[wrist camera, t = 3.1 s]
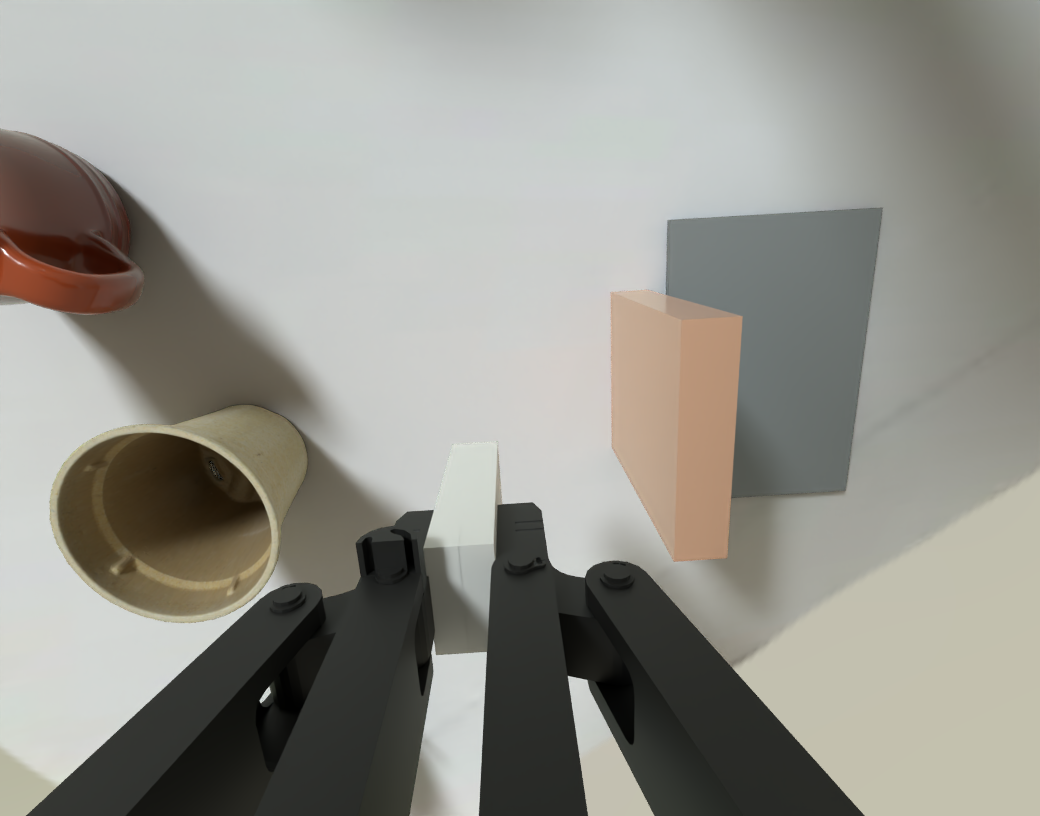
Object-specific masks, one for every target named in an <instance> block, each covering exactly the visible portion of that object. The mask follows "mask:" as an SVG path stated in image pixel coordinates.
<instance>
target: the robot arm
mask: <svg viewBox="0 0 1040 816" xmlns="http://www.w3.org/2000/svg"><path fill="white" fill-rule="evenodd" d="M356 548H357V555H358V561H359V567H360V574H361V578H360V580H359V582H358V585H357V587H356V589H354V590H352V591H349V592H346V593H343V594H339V595H335V596H331V597H328V598H324V599H323V596H322V591H321V589H320V588H319V587H318V586H317V585H314V584H310V583H293V584H290V585H285V586H282V587H280V588H278V589H276V590H274V591H271V592H270V593H268V594H267V595H265V596H264V597H263V598H261V599H260V600H259V601H258V602H257V603H256V604H255V605H253V606H252V607H251V608H250V609H249V610H248V611H247V612H246V613H245V614H244V615H243V616H242V617H240V618H239V619H238V620H237V621H236V622H235V623H234V624H233V625H232V626H231V627H230V628H229V629H227V630H226V631H225V632H224V633H223V634H222V635H221V636H220V637H219V638H218V639H217V640H216V641H215V642H213V643H212V644H211V645H210V646H209V647H208V648H207V649H206V650H205V651H204V652H203V653H202V654H200V655H199V656H198V657H197V658H196V659H195V660H194V661H193V662H192V663H191V664H190V665H189V666H187V667H186V668H185V669H184V670H183V671H182V672H181V673H180V674H179V675H178V676H177V677H176V678H175V679H173V680H172V681H171V682H170V683H169V684H168V685H167V686H166V687H165V688H164V689H163V690H162V691H160V692H159V693H158V694H157V695H156V696H155V697H154V698H153V699H152V700H151V701H150V702H149V703H147V704H146V705H145V706H144V707H143V708H142V709H141V710H140V711H139V712H138V713H137V714H136V715H135V716H133V717H132V718H131V719H130V720H129V721H128V722H127V723H126V724H125V725H124V726H123V727H122V728H120V729H119V730H118V731H117V732H116V733H115V734H114V735H113V736H112V737H111V738H110V739H109V740H107V741H106V742H105V743H104V744H103V745H102V746H101V747H100V748H99V749H98V750H97V751H96V752H94V753H93V754H92V755H91V756H90V757H89V758H88V759H87V760H86V761H85V762H84V763H83V764H82V765H80V766H79V767H78V768H77V769H76V770H75V771H74V772H73V773H72V774H71V775H70V776H69V777H67V778H66V779H65V780H64V781H63V782H62V783H61V784H60V785H59V786H58V787H57V788H56V789H54V790H53V792H51V793H50V794H49V795H48V796H47V797H46V798H45V799H44V800H43V801H42V802H40V803H39V804H38V805H37V806H36V807H35V808H34V809H33V810H32V811H31V812H30V813H29V814H28V815H26V816H409V814H410V808H411V802H412V796H413V790H414V784H415V778H416V772H417V766H418V760H419V754H420V749H421V743H422V737H423V731H424V725H425V719H426V713H427V707H428V701H429V695H430V689H431V683H432V677H433V663H432V655H431V651H432V645H433V640H434V642H435V651H436V655H444V654H459V653H474V652H487V664H486V684H485V704H484V725H483V745H482V766H481V786H480V806H479V816H588V812H587V806H586V799H585V792H584V785H583V778H582V771H581V765H580V758H579V751H578V744H577V737H576V730H575V724H574V717H573V710H572V703H571V696H570V689H569V682H568V676H571V677H576V678H581V679H586V680H588V684H589V688H590V691H591V693H592V695H593V697H594V699H595V701H596V703H597V705H598V707H599V709H600V711H601V713H602V715H603V717H604V719H605V720H606V722H607V724H608V726H609V728H610V730H611V732H612V734H613V736H614V738H615V740H616V742H617V744H618V745H619V748H620V750H621V752H622V753H623V755H624V757H625V759H626V761H627V763H628V765H629V767H630V769H631V771H632V773H633V775H634V777H635V779H636V781H637V783H638V785H639V786H640V788H641V790H642V792H643V794H644V796H645V798H646V800H647V802H648V804H649V805H650V808H651V810H652V812H653V814H654V815H655V816H864V815H863V813H862V812H861V811H860V810H859V809H858V808H857V807H856V806H855V805H854V804H853V802H852V801H851V800H850V799H849V798H848V797H847V796H846V795H845V793H844V792H843V791H842V790H841V789H840V788H839V787H838V786H837V784H836V783H835V782H834V781H833V780H832V779H831V778H830V777H829V776H828V774H827V773H826V772H825V771H824V770H823V769H822V768H821V767H820V766H819V764H818V763H817V762H816V761H815V760H814V759H813V758H812V757H811V756H810V754H809V753H808V752H807V751H806V750H805V749H804V748H803V747H802V745H800V743H799V742H798V741H797V740H796V739H795V738H794V737H793V736H792V734H791V733H790V732H789V731H788V730H787V729H786V728H785V727H784V725H783V724H782V723H781V722H780V721H779V720H778V719H777V718H776V717H775V715H774V714H773V713H772V712H771V711H770V710H769V709H768V708H767V706H766V705H765V704H764V703H763V702H762V701H761V700H760V699H759V697H757V695H756V694H755V693H754V692H753V691H752V690H751V689H750V687H749V686H748V685H747V684H746V683H745V682H744V681H743V680H742V679H741V677H740V676H739V675H738V674H737V673H736V672H735V671H734V670H733V668H732V667H731V666H730V665H729V664H728V663H727V662H726V661H725V660H724V658H723V657H722V656H721V655H720V654H719V653H718V652H717V651H716V650H715V648H714V647H713V646H712V645H711V644H710V643H709V642H708V641H707V640H706V638H705V637H704V636H703V635H702V634H701V633H700V632H699V631H698V629H697V628H696V627H695V626H694V625H693V624H692V623H691V622H690V621H689V619H688V618H687V617H686V616H685V615H684V614H683V613H682V612H681V611H680V609H679V608H678V607H677V606H676V605H675V604H674V603H673V602H672V600H671V599H670V598H669V597H668V596H667V595H666V594H665V593H664V592H663V590H662V589H661V588H660V587H659V586H658V585H657V584H656V583H655V582H654V580H653V579H652V578H651V577H650V576H649V575H648V574H647V573H646V572H645V571H644V570H643V569H641V568H640V567H639V566H636V565H634V564H631V563H628V562H623V561H607V562H602V563H599V564H596V565H594V566H593V567H591V568H590V569H589V570H588V571H587V573H586V576H585V578H581V577H575V576H570V575H567V574H564V573H562V572H559V571H558V570H556V569H555V568H554V567H553V566H552V565H551V563H550V561H549V559H548V553H547V546H546V539H545V532H544V525H543V518H542V512H541V510H540V509H539V508H538V507H537V506H536V505H535V504H534V503H533V502H532V503H517V504H502V496H501V482H500V468H499V454H498V441H496V442H480V443H464V444H452V448H451V451H450V455H449V459H448V462H447V466H446V469H445V473H444V476H443V480H442V484H441V487H440V491H439V494H438V498H437V501H436V505H435V508H434V510H428V511H412V512H407V513H406V514H404V515H403V516H402V517H401V518H400V519H398V520H397V521H396V524H395V526H391V527H385V528H380V529H377V530H374V531H371V532H369V533H367V534H365V535H364V536H362V537H361V538H360V539H359V540H358V541H357V542H356ZM269 686H270V690H271V693H270V695H269V696H268V697H267V698H266V700H265V701H263V702H262V703H260V701H259V700H260V699H261V697H262V695H263V694H264V692H265V691H266V689H267V688H268V687H269Z"/></svg>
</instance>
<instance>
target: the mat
mask: <svg viewBox="0 0 1040 816" xmlns="http://www.w3.org/2000/svg"><path fill="white" fill-rule="evenodd" d="M881 216H882V208H869V209H852V210H834V211H817V212H800V213H783V214H765V215H748V216H731V217H713V218H696V219H679V220H668V228H667V272H666V295H668V296H672V297H675V298H679V299H682V300H686V301H690V302H693V303H697V304H700V305H704V306H708V307H711V308H715V309H718V310H722V311H726V312H729V313H733V314H736V315H740V316H743V319H742V334H741V350H740V365H739V381H738V397H737V412H736V428H735V444H734V459H733V475H732V491H731V498H736V497H751V496H767V495H783V494H798V493H814V492H830V491H845V490H846V482H847V475H848V467H849V460H850V452H851V444H852V437H853V429H854V421H855V414H856V406H857V399H858V391H859V383H860V376H861V368H862V361H863V353H864V345H865V338H866V330H867V322H868V315H869V307H870V300H871V292H872V284H873V277H874V269H875V262H876V254H877V246H878V239H879V231H880V224H881Z"/></svg>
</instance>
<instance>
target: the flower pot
mask: <svg viewBox="0 0 1040 816" xmlns="http://www.w3.org/2000/svg"><path fill="white" fill-rule="evenodd" d="M210 461H212V462H213V464H214V465H215V467H216V469H217V470H218V472H219V474H220V475H221V476H222V478H223V479H222V480H220V479H219V478H217V477H216V476H215V475H214V474H213V472H212V471H211V469H210V466H209V462H210ZM307 465H308V457H307V452H306V448H305V444H304V442H303V439H302V438H301V436H300V434H299V433H298V431H297V430H296V429H295V427H294V426H293V425H292V424H291V423H290V422H289V421H288V420H287V419H285V418H284V417H283V416H280V415H278V414H276V413H273V412H271V411H268V410H266V409H264V408H261V407H258V406H254V405H235V406H230V407H227V408H224V409H222V410H219V411H216V412H213V413H210V414H207V415H204V416H201V417H197V418H194V419H191V420H188V421H184V422H181V423H178V424H174V425H161V424H139V425H131V426H125V427H121V428H117V429H113V430H110V431H108V432H105V433H102V434H100V435H98V436H96V437H94V438H92V439H90V440H89V441H87V442H85V443H84V444H82V445H81V446H80V447H79V448H77V449H76V450H75V451H74V452H73V453H72V454H71V455H70V456H69V458H68V459H67V460H66V461H65V462H64V464H63V465H62V467H61V469H60V471H59V472H58V474H57V476H56V479H55V481H54V483H53V486H52V490H51V496H50V521H51V525H52V530H53V533H54V538H55V539H56V543H57V545H58V546H59V549H60V550H61V552H62V553H63V555H64V557H65V559H66V561H67V562H68V564H69V565H70V566H71V567H72V568H73V570H74V571H75V572H76V573H77V574H78V575H79V577H80V578H81V579H82V580H83V581H84V582H85V583H86V584H87V585H88V586H89V587H91V588H92V589H93V590H94V591H95V592H97V593H98V594H99V595H101V596H102V597H104V598H105V599H107V600H108V601H110V602H112V603H113V604H115V605H117V606H119V607H121V608H123V609H125V610H128V611H130V612H132V613H135V614H138V615H140V616H144V617H147V618H152V619H155V620H160V621H164V622H176V623H193V622H194V623H196V622H201V621H202V622H203V621H207V620H213V619H216V618H219V617H222V616H225V615H227V614H229V613H231V612H234V611H235V610H237V609H238V608H241V607H242V606H244V605H245V604H247V603H248V602H249V601H251V600H252V599H253V598H254V597H255V596H256V595H257V594H258V593H259V592H260V591H261V590H262V589H263V587H264V586H265V584H266V583H267V582H268V580H269V578H270V577H271V575H272V573H273V571H274V569H275V566H276V563H277V561H278V557H279V552H280V544H281V524H282V522H283V520H284V518H285V516H286V514H287V512H288V510H289V507H290V505H291V503H292V501H293V499H294V497H295V496H296V494H297V491H298V489H299V488H300V486H301V484H302V482H303V480H304V478H305V475H306V470H307Z"/></svg>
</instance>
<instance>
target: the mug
mask: <svg viewBox="0 0 1040 816" xmlns="http://www.w3.org/2000/svg"><path fill="white" fill-rule="evenodd" d="M130 238H131V228H130V222H129V219H128V216H127V213H126V210H125V208H124V205H123V203H122V201H121V199H120V197H119V195H118V194H117V192H116V190H115V189H114V187H113V186H112V185H111V183H110V182H109V181H108V180H107V179H106V177H105V176H104V175H103V174H102V173H101V172H100V171H99V170H97V169H96V168H95V167H94V166H93V165H91V164H90V163H89V162H87V161H86V160H84V159H83V158H81V157H79V156H77V155H76V154H74V153H72V152H69V151H68V150H66V149H64V148H62V147H60V146H58V145H55V144H53V143H50V142H48V141H46V140H43V139H41V138H39V137H36V136H33V135H30V134H27V133H22V132H17V131H9V130H4V129H0V305H13V304H24V303H31V304H34V305H37V306H41V307H44V308H48V309H51V310H56V311H60V312H65V313H72V314H81V315H96V314H105V313H111V312H116V311H120V310H123V309H126V308H128V307H130V306H132V305H133V304H135V303H136V302H137V301H138V300H139V298H140V296H141V294H142V291H143V287H144V282H145V276H144V273H143V271H142V269H141V268H140V267H139V266H138V265H137V264H136V263H135V262H133V261H132V260H131V259H130V258H128V257H127V256H128V253H129V248H130Z"/></svg>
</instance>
